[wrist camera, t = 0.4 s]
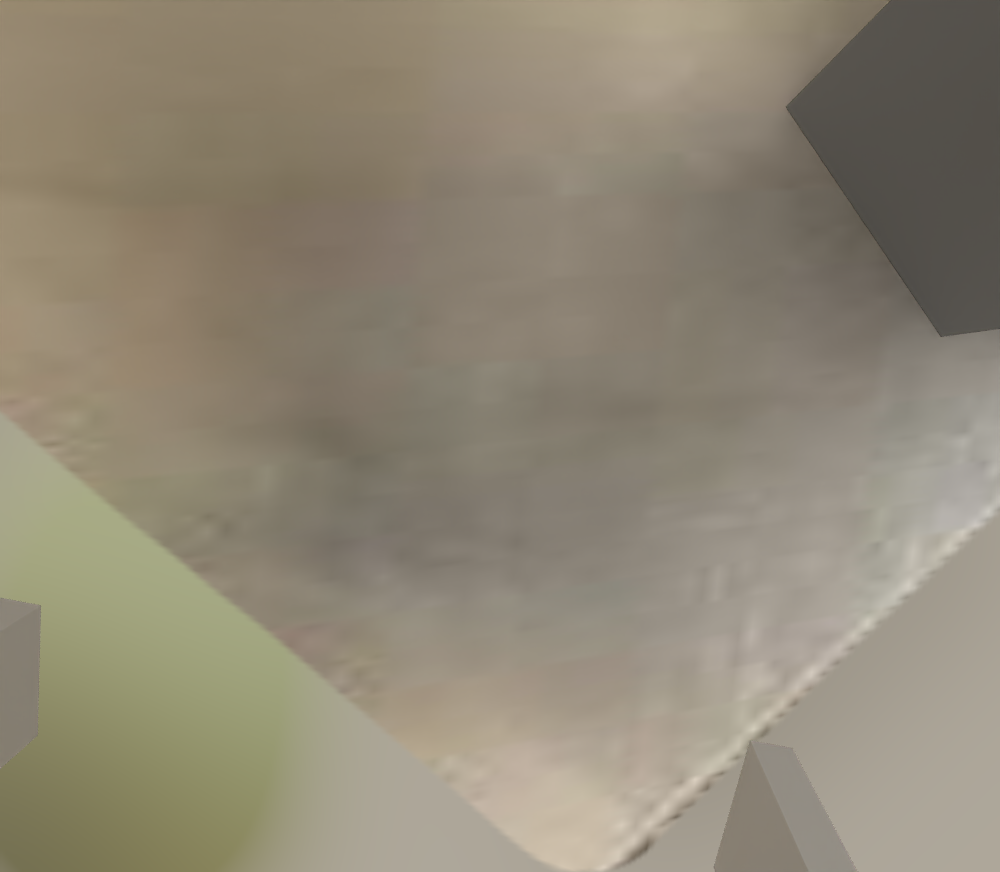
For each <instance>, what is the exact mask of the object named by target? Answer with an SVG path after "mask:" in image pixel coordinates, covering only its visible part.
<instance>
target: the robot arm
mask: <svg viewBox="0 0 1000 872" xmlns="http://www.w3.org/2000/svg"><path fill="white" fill-rule="evenodd" d="M40 617H41V606H40V605H35V604H30V603H25V602H20V601H15V600H9V599H4V598H0V769H1V767H3V766H4V765H5V764H6V763H7V762H8V761H9V760H11V759H12V758H13V757H14V756H15V755H16V754H17V753H18V752H19V751H21V750H22V749H23V748H24V747H25V746H26V745H27V744H28V743H30V742H31V741H32V740H33V739H34V738H35V737H36V736H37V734H38V697H39V658H40ZM714 869H715V872H858V871H857V869H856V867H855V866H854V864H853V862H852V860H851V858H850V856H849V855H848V852H847V851H846V849H845V847H844V845H843V843H842V841H841V839H840V837H839V835H838V834H837V832H836V830H835V828H834V826H833V824H832V822H831V820H830V818H829V816H828V814H827V813H826V811H825V809H824V807H823V805H822V803H821V801H820V800H819V798H818V795H817V794H816V792H815V790H814V788H813V786H812V784H811V782H810V780H809V778H808V777H807V775H806V773H805V771H804V769H803V767H802V765H801V763H800V761H799V760H798V758H797V756H796V754H795V752H794V750H793V749H792V748H789V747H784V746H779V745H774V744H768V743H763V742H758V741H753V740H750V742H749V745H748V749H747V752H746V756H745V759H744V763H743V766H742V770H741V774H740V777H739V781H738V784H737V787H736V791H735V795H734V798H733V802H732V805H731V808H730V812H729V815H728V819H727V822H726V826H725V830H724V833H723V836H722V840H721V844H720V847H719V850H718V854H717V857H716V861H715V864H714Z"/></svg>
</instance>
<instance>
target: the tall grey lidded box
mask: <svg viewBox="0 0 1000 872" xmlns="http://www.w3.org/2000/svg"><path fill="white" fill-rule="evenodd" d="M786 108H787V109H788V111H789V112H790V114H791V115H792V117H793V118H794V120H795V121H796V122H797V124H798V125H799V127H800V128H801V130H802V131H803V133H804V134H805V136H806V137H807V139H808V140H809V142H810V143H811V145H812V146H813V148H814V149H815V151H816V152H817V154H818V155H819V157H820V158H821V160H822V161H823V162H824V164H825V165H826V167H827V168H828V170H829V171H830V173H831V174H832V176H833V177H834V179H835V180H836V182H837V183H838V185H839V186H840V188H841V189H842V191H843V192H844V194H845V195H846V197H847V198H848V199H849V201H850V202H851V204H852V205H853V207H854V208H855V210H856V211H857V213H858V214H859V216H860V217H861V219H862V220H863V222H864V223H865V225H866V226H867V228H868V229H869V231H870V232H871V234H872V235H873V237H874V238H875V239H876V241H877V242H878V244H879V245H880V247H881V248H882V250H883V251H884V253H885V254H886V256H887V257H888V259H889V260H890V262H891V263H892V265H893V266H894V268H895V269H896V271H897V272H898V274H899V275H900V277H901V278H902V279H903V281H904V282H905V284H906V285H907V287H908V288H909V290H910V291H911V293H912V294H913V296H914V297H915V299H916V300H917V302H918V303H919V305H920V306H921V308H922V309H923V311H924V312H925V314H926V315H927V316H928V318H929V319H930V321H931V322H932V324H933V325H934V327H935V328H936V330H937V331H938V333H939V334H940V336H941V337H942V336H949V335H957V334H964V333H972V332H979V331H987V330H994V329H1000V0H891V1H890V2H889V3H888V4H887V5H886V6H885V7H884V8H883V9H882V10H881V11H880V12H879V13H878V14H877V15H876V16H875V17H874V18H873V19H872V20H871V21H870V22H869V23H868V24H867V25H866V26H865V27H864V28H863V29H862V30H861V31H860V32H859V33H858V34H857V35H856V36H855V37H854V38H853V39H852V40H851V41H850V42H849V43H848V44H847V45H846V46H845V47H844V48H843V49H842V50H841V51H840V52H839V54H838V55H837V56H836V57H835V58H834V59H833V60H832V61H831V62H830V63H829V64H828V65H827V66H826V67H825V68H824V69H823V70H822V71H821V72H820V73H819V74H818V75H817V76H816V77H815V78H814V79H813V80H812V81H811V82H810V83H809V84H808V85H807V86H806V87H805V88H804V89H803V90H802V91H801V92H800V93H799V94H798V95H797V96H796V97H795V98H794V99H793V100H792V101H791V102H790V103H789V104H788V105H787V106H786Z"/></svg>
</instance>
